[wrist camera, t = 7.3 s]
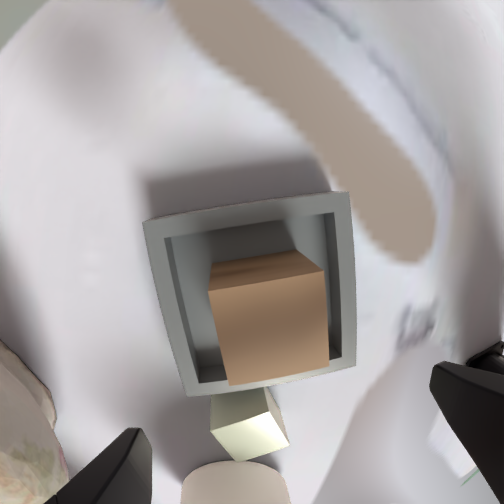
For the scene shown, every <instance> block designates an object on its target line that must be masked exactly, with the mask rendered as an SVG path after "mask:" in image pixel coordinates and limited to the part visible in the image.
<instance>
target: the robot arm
mask: <svg viewBox="0 0 504 504" xmlns="http://www.w3.org/2000/svg"><path fill="white" fill-rule="evenodd" d="M503 349H504V342H503V341H501V342H499V343H497V344H496V345H494V346H492V347H490V348H489V349H487V350H485V351H483V352H482V353H480V354H478V355H476V356H474V357H472V358H471V359H469V360H468V362H467V365H466V366H463V365H459V364H455V363H451V362H447V361H442V362H440V363H438V364H436V365H434V367H433V370H432V375H431V380H430V384H429V387H430V391H431V393H432V395H433V397H434V398H435V400H436V402H437V404H438V406H439V407H440V409H441V411H442V413H443V415H444V417H445V419H446V420H447V422H448V424H449V425H450V427H451V428H452V430H453V431H454V433H455V434H456V436H457V437H458V439H459V440H460V441H461V443H462V444H463V446H464V447H465V449H466V450H467V452H468V453H469V455H470V456H471V458H472V459H473V461H474V462H475V464H476V465H477V467H478V469H479V470H480V472H481V473H482V475H483V476H484V478H485V479H486V481H487V483H488V484H489V486H490V487H491V489H492V490H493V492H494V494H495V496H496V497H497V499H498V500H499V502H500V504H504V355H502V353H503ZM151 498H152V448H151V445H150V443H149V441H148V439H147V437H146V436H145V434H144V432H143V430H142V429H141V428H127V429H126V430H125V431H124V432H122V433H121V434H120V435H119V436H118V437H117V438H116V439H115V440H114V441H113V442H112V443H111V444H110V445H109V446H108V447H106V448H105V449H104V450H103V451H102V452H101V453H100V454H99V455H98V456H97V457H96V458H95V459H93V460H92V461H91V462H90V463H89V464H88V465H87V466H86V467H85V468H84V469H82V470H81V471H80V472H79V473H78V474H77V475H76V476H75V477H74V478H72V479H71V480H70V481H69V482H68V483H67V484H66V485H64V486H63V487H62V488H61V489H60V490H59V491H58V492H56V494H54V495H53V496H52V497H51V498H49V499H48V500H47V501H46V502H45V503H43V504H151Z"/></svg>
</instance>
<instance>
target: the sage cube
mask: <svg viewBox="0 0 504 504" xmlns="http://www.w3.org/2000/svg"><path fill="white" fill-rule="evenodd" d="M210 432H211V433H212V434H213V435H214V436H215V438H216V439H217V440H218V441H219V443H220V444H221V445H222V446H223V447H224V449H225V450H226V451H227V452H228V453H229V454H230V456H231V457H232V458H233V459H234V460H235V461H236V462H237V463H238V462H242V461H245V460H248V459H252V458H255V457H258V456H261V455H265V454H268V453H271V452H274V451H276V450H279V449H282V448H285V447H288V446H290V444H289V440H288V436H287V433H286V429H285V426H284V422H283V419H282V415H281V411H280V410H279V408H278V406H277V404H276V402H275V401H274V399H273V397H272V395H271V393H270V392H269V390H268V388H267V387H261V388H255V389H249V390H242V391H236V392H229V393H221V394H213V395H211V411H210Z"/></svg>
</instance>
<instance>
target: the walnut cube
mask: <svg viewBox="0 0 504 504" xmlns="http://www.w3.org/2000/svg"><path fill="white" fill-rule="evenodd" d="M208 294H209V299H210V304H211V309H212V313H213V318H214V323H215V327H216V332H217V336H218V341H219V345H220V350H221V354H222V358H223V363H224V367H225V371H226V375H227V379H228V383H229V386H234V385H241V384H247V383H253V382H259V381H264V380H270V379H275V378H280V377H285V376H290V375H294V374H299V373H304V372H308V371H312V370H316V369H321V368H325V367H329V341H328V321H327V305H326V290H325V278H324V271H323V270H322V269H321V268H320V267H318V266H317V265H316V264H315V263H313V262H312V261H311V260H310V259H308V258H307V257H306V256H304V255H303V254H302V253H301V252H299V251H298V250H297V249H295V250H289V251H283V252H277V253H271V254H265V255H259V256H253V257H247V258H241V259H235V260H229V261H223V262H217V263H212V266H211V273H210V280H209V287H208Z"/></svg>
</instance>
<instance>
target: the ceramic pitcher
mask: <svg viewBox="0 0 504 504" xmlns="http://www.w3.org/2000/svg"><path fill="white" fill-rule="evenodd" d="M56 420H57V417H56V412H55V408H54V404H53V401H52V397H51V393H50V391H49V390H48V389H47V388H46V387H45V386H44V385H43V384H42V383H41V382H40V381H39V380H38V379H37V378H36V377H35V375H34V374H33V373H32V372H31V371H30V370H29V369H28V368H27V367H26V365H25V364H24V363H23V362H22V361H21V360H20V359H19V358H18V356H17V355H16V354H14V353H13V352H12V351H11V350H10V349H9V348H8V347H7V346H6V345H5V344H4V343H3V342H2V341H1V340H0V504H43V503H45V502H46V501H47V500H48V499H49V498H51V497H52V496H53V495H54V494H56V492H58V491H59V490H60V489H61V488H62V487H63V486H64V485H66V484H67V483H68V482H69V474H68V469H67V465H66V462H65V458H64V454H63V451H62V447H61V445H60V443H59V441H58V439H57V437H56V435H55V433H54V431H53V429H54V426H55V423H56Z"/></svg>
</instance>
